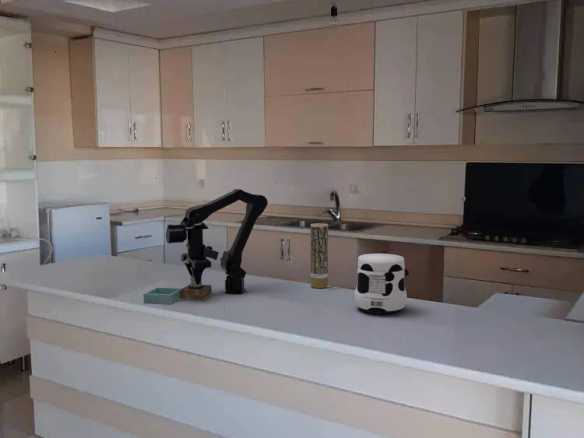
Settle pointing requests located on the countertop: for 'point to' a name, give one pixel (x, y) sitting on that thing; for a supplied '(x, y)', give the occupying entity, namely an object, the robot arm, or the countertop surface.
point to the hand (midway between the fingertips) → (196, 283)
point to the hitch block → (196, 292)
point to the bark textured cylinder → (319, 255)
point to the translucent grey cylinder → (193, 283)
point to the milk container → (380, 283)
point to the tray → (162, 295)
